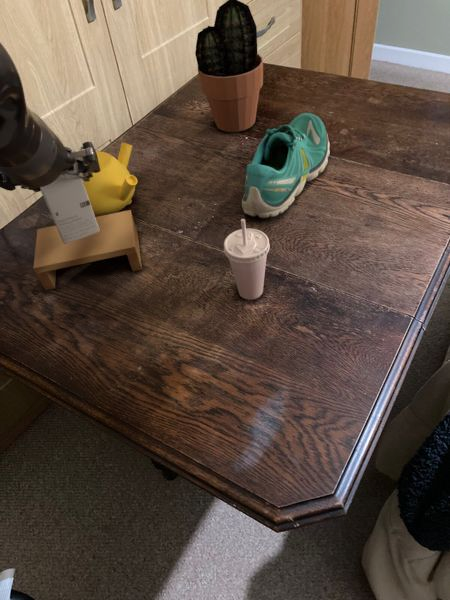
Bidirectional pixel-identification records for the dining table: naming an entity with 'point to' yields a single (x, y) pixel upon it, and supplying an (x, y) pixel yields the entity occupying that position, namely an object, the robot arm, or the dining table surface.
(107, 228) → the wooden display riser
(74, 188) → the cosmetic box
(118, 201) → the teapot
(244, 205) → the running shoe
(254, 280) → the smoothie
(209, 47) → the potted plant
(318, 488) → the dining table surface
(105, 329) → the dining table surface
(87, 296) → the dining table surface
